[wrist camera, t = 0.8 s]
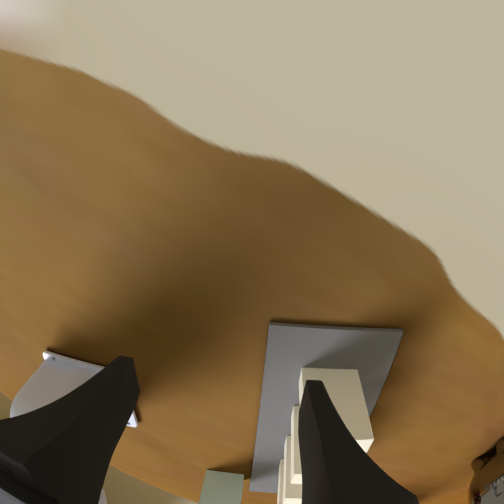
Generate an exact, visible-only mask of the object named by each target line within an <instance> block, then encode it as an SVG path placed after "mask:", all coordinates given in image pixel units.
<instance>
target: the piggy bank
mask: <svg viewBox="0 0 504 504" xmlns="http://www.w3.org/2000/svg"><path fill="white" fill-rule="evenodd" d="M471 466H472V469H473V471H474V476H473V478H472V480H471V483H470V486H469V490H468V502H469V504H504V438H502V439H500V440H499V441H498V442H497V444H496V454H495V455H494V456H492V457H491V458H490V459H489V460H487V461H486V460H484V459H482V458H477V459H475V460H474V461H473V462H472V464H471Z"/></svg>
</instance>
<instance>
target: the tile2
mask: <svg viewBox="0 0 504 504" xmlns="http://www.w3.org/2000/svg"><path fill="white" fill-rule="evenodd" d="M283 481H284V459H281V461H280V465H279V479H278V500H277V504H283Z"/></svg>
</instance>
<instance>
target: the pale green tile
mask: <svg viewBox="0 0 504 504" xmlns="http://www.w3.org/2000/svg"><path fill="white" fill-rule="evenodd" d="M243 482H244V474H235V473H227V472H219V471H212V470H206V473H205V478H204V482H203V487H202V491H201V496H200V500H199V504H241V498H242V490H243Z"/></svg>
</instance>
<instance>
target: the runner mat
mask: <svg viewBox="0 0 504 504" xmlns="http://www.w3.org/2000/svg"><path fill="white" fill-rule="evenodd" d="M402 335H403V330H402V329H390V328H360V327H339V326H321V325H306V324H292V323H279V322H269V330H268V340H267V349H266V358H265V367H264V376H263V385H262V393H261V402H260V410H259V419H258V427H257V435H256V443H255V451H254V458H253V466H252V474H251V481H250V488H249V491H255V492H269V493H278V479H279V465H280V461H281V459H284V446H285V441H286V437H287V436H291V415H292V411H293V407H294V406H300V402H299V379H300V374H301V369H302V367H304V368H325V369H357V370H358V374H359V378H360V382H361V386H362V390H363V394H364V398H365V402H366V406H367V411H368V415H369V417H370V415H371V413H372V411H373V408H374V406H375V404H376V402H377V399H378V397H379V395H380V392H381V390H382V387H383V385H384V383H385V380H386V378H387V375H388V373H389V370H390V368H391V365H392V362H393V360H394V357H395V354H396V352H397V349H398V346H399V343H400V340H401V338H402Z"/></svg>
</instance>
